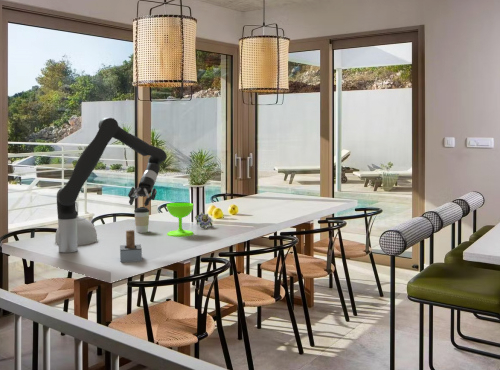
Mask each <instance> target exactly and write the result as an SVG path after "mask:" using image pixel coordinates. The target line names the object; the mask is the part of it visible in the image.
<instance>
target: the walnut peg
mask: <svg viewBox="0 0 500 370" xmlns="http://www.w3.org/2000/svg"><path fill="white" fill-rule="evenodd" d="M135 235H136V234H135V229H130V230H129V229H128V230H127V229H126V231H125V242H126V243H125V245H126V248H135V245H136V243H135V241H136V239H135V238H136V237H135Z"/></svg>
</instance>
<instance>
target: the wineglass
mask: <svg viewBox="0 0 500 370" xmlns="http://www.w3.org/2000/svg"><path fill="white" fill-rule="evenodd" d="M166 208H167V211H168V213H169V214H170V215H171V216H173V217H174V218H177V219H178V228H177V229H176V230H171V231H168V232H167V233H166V235H167V236H169V237H172V238H174V237H175V238H183V237H190V236H193V234H195V233H194V232H193V231H192V230H186V229H184V228H183V218H186V217H188V216H189V215H190V214H191V213H192V211H193V209H194V203H192V202H172V203H171V202H170V203H167V204H166Z"/></svg>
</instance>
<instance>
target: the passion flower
mask: <svg viewBox="0 0 500 370" xmlns="http://www.w3.org/2000/svg"><path fill="white" fill-rule="evenodd" d="M194 218H195V220H196V221H197V222H196V225H199V226H200V228H204V229H205V230H206V229H207V228H208V227H213V222H214V220H213V219H212V216H210V215H209V213H206V214H205V213H204V212H202V211H201V212H200V214H198V215H195V216H194Z"/></svg>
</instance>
